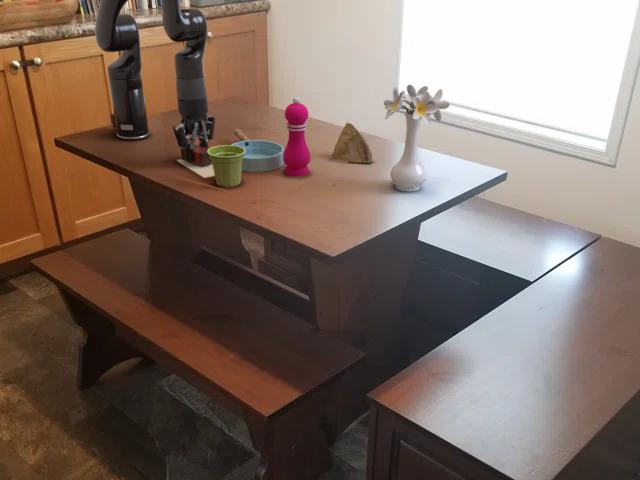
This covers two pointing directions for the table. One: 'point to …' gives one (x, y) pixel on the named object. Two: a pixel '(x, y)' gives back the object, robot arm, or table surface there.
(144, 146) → the table surface
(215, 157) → the plant pot
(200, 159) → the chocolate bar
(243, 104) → the table surface
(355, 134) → the rock
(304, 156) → the pepper mill
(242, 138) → the pan handle
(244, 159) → the pan
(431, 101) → the flower vase
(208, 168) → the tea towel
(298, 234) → the table surface
